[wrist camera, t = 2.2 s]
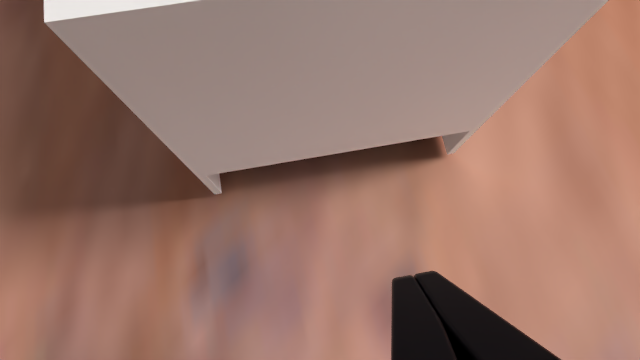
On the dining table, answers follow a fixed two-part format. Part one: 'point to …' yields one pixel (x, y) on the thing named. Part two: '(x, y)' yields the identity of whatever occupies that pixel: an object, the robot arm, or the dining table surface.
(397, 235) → the dining table surface
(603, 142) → the dining table surface
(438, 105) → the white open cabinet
